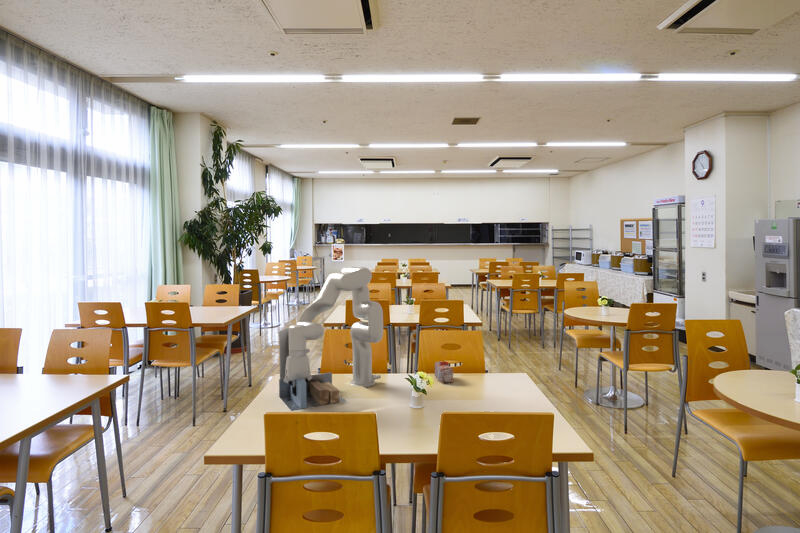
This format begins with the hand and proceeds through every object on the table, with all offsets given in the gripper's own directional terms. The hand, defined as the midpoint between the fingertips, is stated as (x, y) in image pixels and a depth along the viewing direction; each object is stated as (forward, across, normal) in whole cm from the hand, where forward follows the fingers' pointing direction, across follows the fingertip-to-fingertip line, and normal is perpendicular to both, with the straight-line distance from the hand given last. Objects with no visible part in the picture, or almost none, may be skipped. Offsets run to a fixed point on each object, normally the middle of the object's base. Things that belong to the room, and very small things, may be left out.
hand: (298, 394), depth 209 cm
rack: (+5, -7, -1) cm, 8 cm away
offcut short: (+4, -14, 0) cm, 15 cm away
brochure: (+5, -3, -22) cm, 23 cm away
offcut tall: (+4, -10, 0) cm, 10 cm away
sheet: (+4, 0, 0) cm, 4 cm away
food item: (+5, -77, -1) cm, 77 cm away
